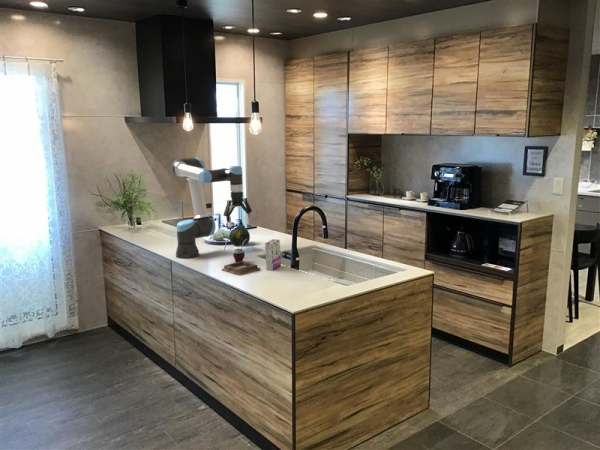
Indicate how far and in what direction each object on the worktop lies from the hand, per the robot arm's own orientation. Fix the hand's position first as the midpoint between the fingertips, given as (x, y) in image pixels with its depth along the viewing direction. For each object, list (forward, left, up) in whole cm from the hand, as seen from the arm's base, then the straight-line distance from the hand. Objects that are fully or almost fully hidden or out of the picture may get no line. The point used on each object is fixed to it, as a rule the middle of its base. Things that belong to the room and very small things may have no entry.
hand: (238, 225), depth 320 cm
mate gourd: (0, 0, -24) cm, 24 cm away
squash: (-40, +31, -24) cm, 56 cm away
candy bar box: (+26, +5, -24) cm, 35 cm away
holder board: (+15, -11, -24) cm, 30 cm away
